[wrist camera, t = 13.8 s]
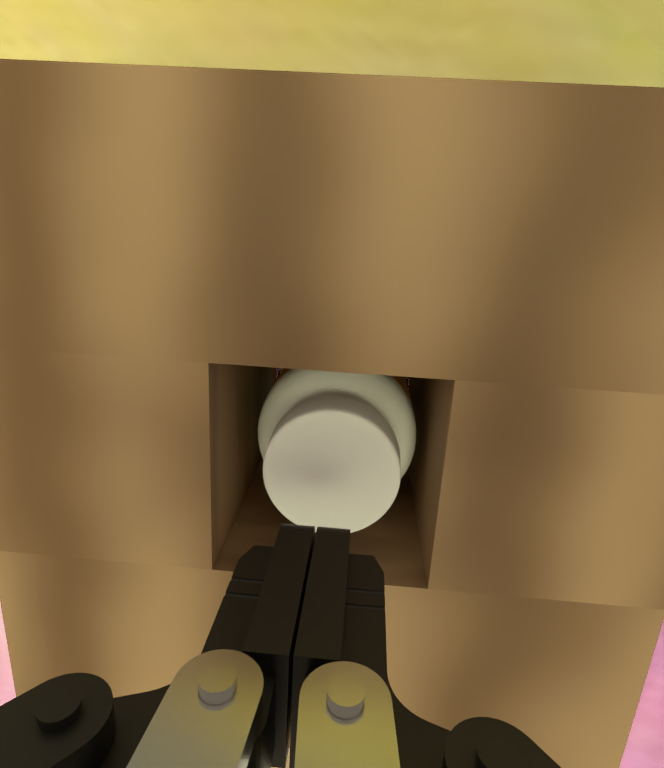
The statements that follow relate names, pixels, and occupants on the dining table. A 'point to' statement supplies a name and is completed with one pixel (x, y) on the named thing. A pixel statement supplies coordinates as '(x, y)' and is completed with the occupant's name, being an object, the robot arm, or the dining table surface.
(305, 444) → the supplement bottle
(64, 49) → the dining table surface
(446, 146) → the walnut block
